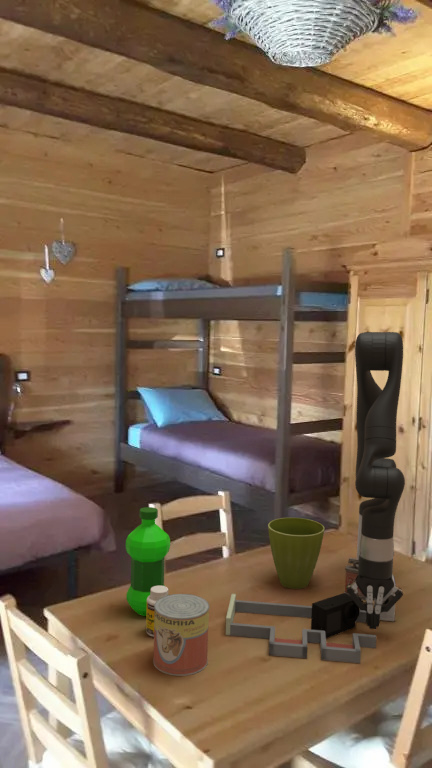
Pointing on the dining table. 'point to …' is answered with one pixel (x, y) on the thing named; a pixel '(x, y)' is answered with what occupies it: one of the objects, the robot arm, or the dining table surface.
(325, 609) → the digital camera
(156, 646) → the canned food
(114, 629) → the dining table surface
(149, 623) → the supplement bottle
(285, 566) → the flower pot
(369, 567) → the robot arm
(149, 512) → the plastic bottle
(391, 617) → the medicine box
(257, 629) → the channel
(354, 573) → the lighter
